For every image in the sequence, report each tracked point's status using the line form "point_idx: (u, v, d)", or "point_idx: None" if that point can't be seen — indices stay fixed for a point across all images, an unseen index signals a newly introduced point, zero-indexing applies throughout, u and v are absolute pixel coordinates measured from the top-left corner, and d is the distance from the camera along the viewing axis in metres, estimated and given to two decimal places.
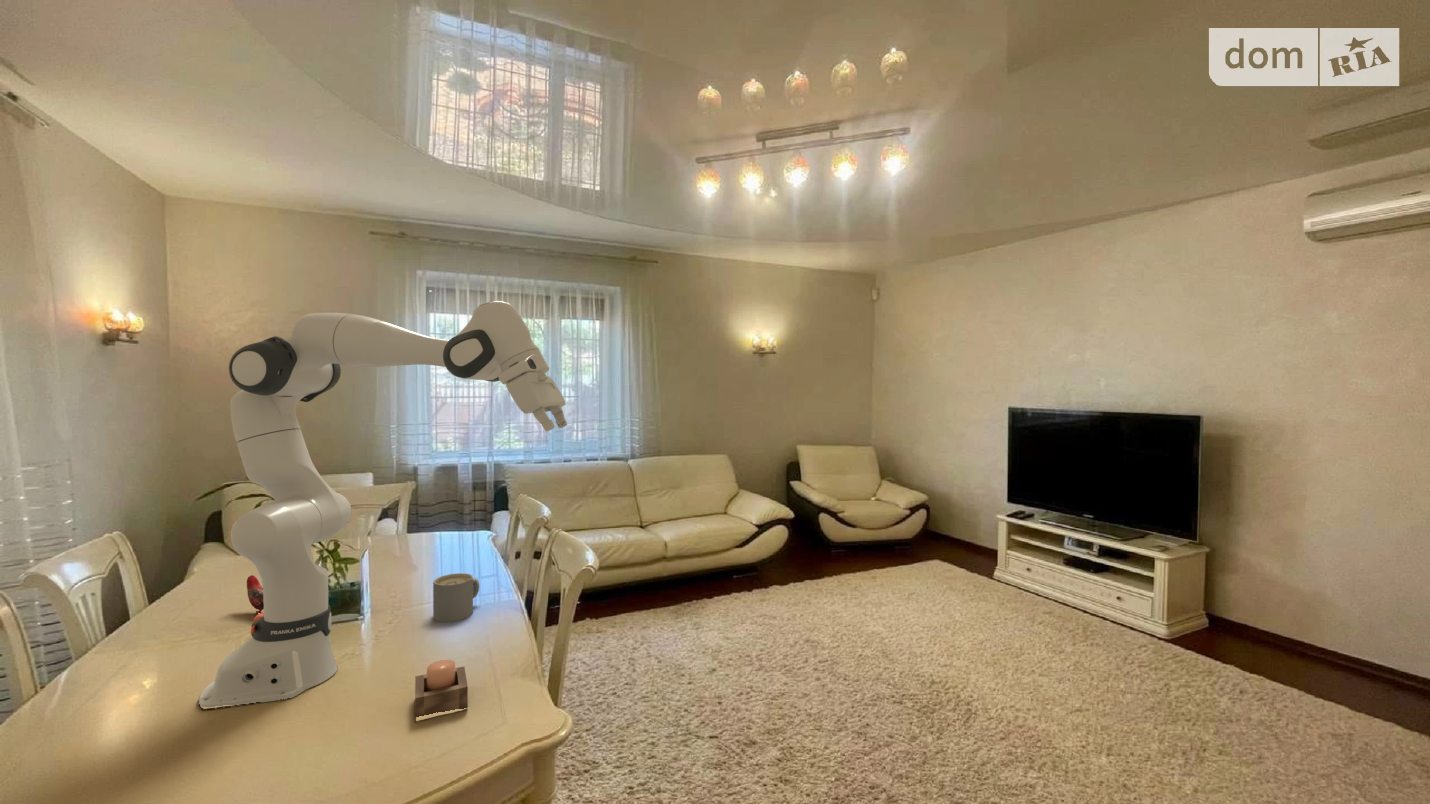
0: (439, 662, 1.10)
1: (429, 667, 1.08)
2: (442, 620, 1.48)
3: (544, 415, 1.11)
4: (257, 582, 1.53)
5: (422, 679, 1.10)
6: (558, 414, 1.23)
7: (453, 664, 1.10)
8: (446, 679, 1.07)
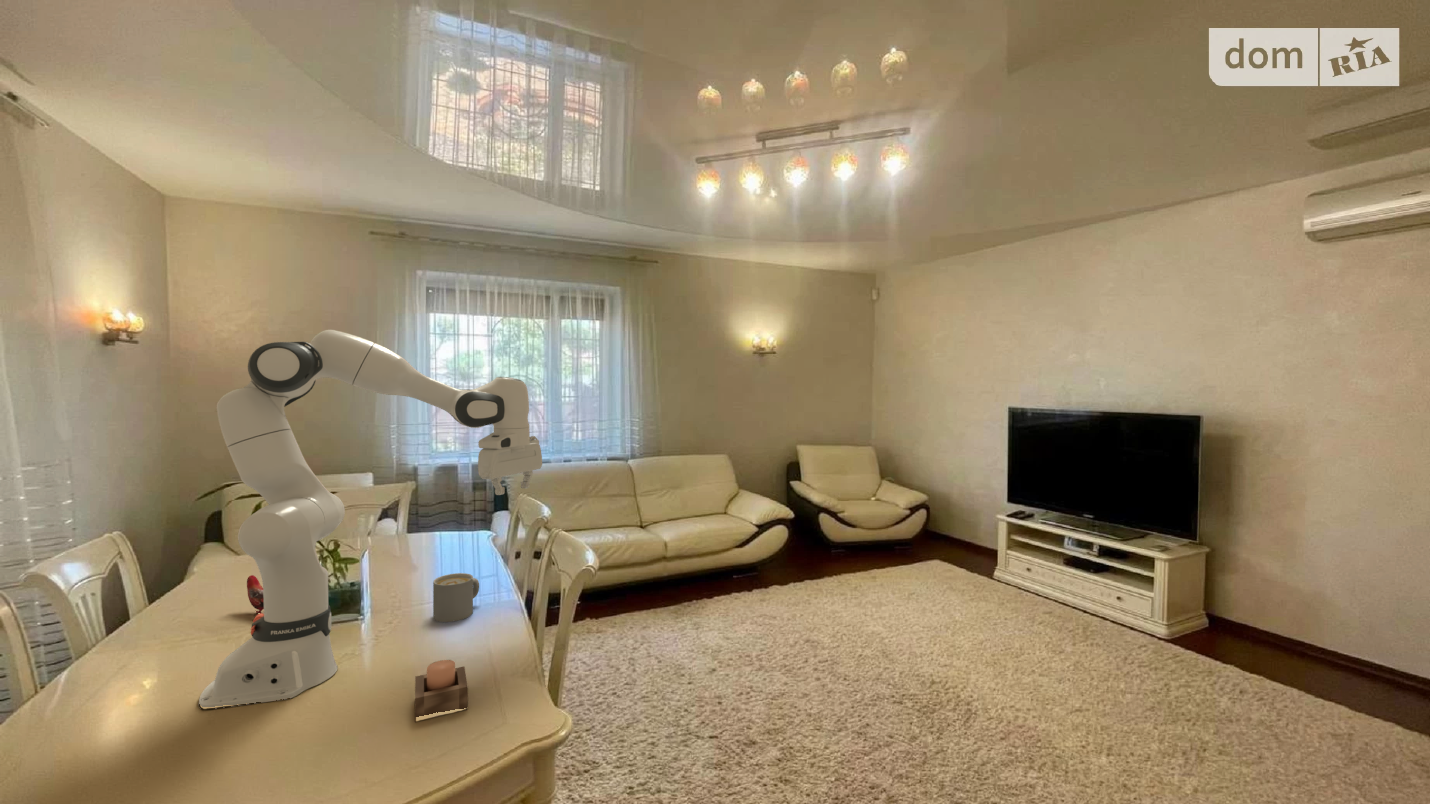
0: (439, 662, 1.10)
1: (429, 667, 1.08)
2: (442, 620, 1.48)
3: (497, 484, 1.39)
4: (257, 582, 1.53)
5: (422, 679, 1.10)
6: (527, 476, 1.50)
7: (453, 664, 1.10)
8: (446, 679, 1.07)
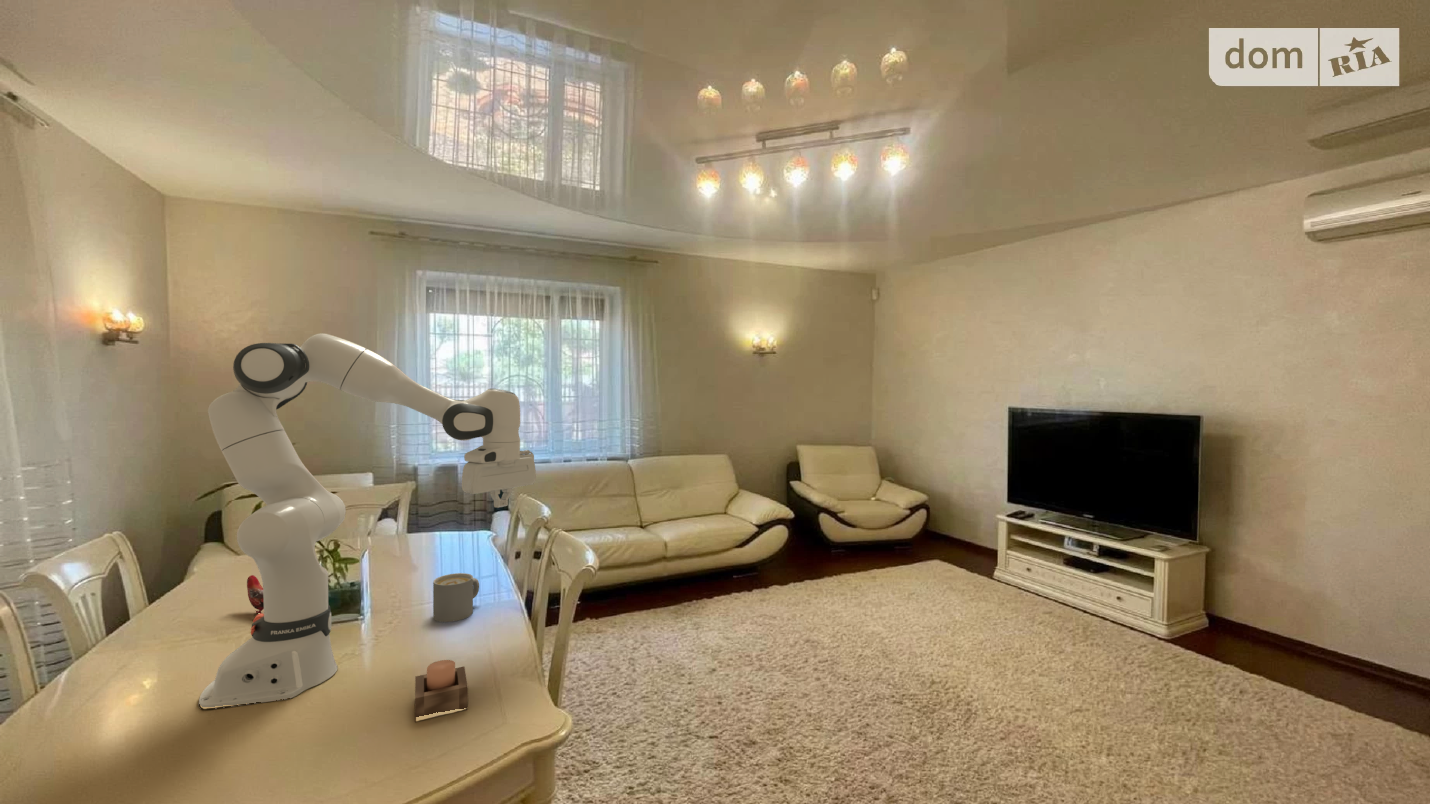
0: (439, 662, 1.10)
1: (429, 667, 1.08)
2: (442, 620, 1.48)
3: (495, 496, 1.38)
4: (257, 582, 1.53)
5: (422, 679, 1.10)
6: (506, 493, 1.42)
7: (453, 664, 1.10)
8: (446, 679, 1.07)
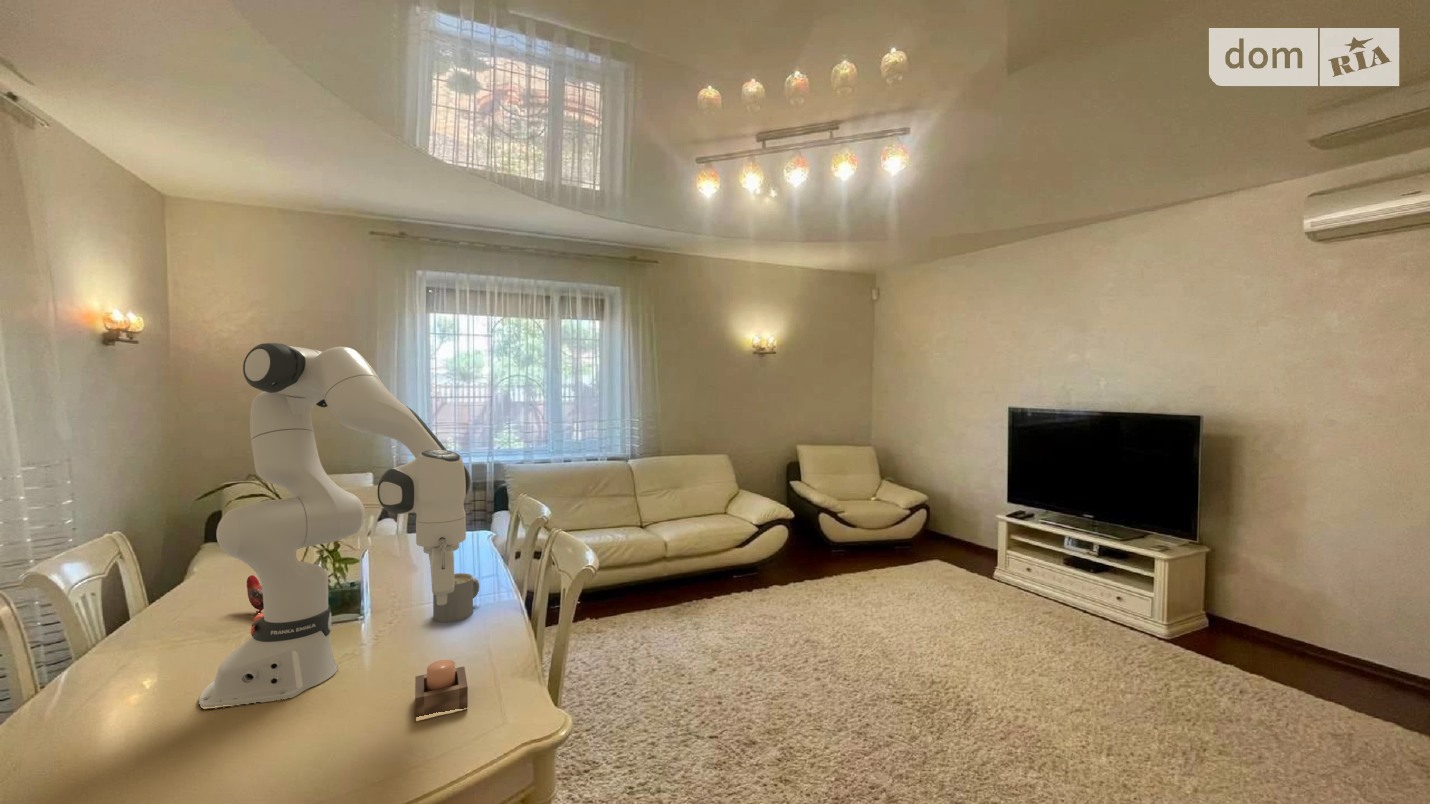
0: (439, 662, 1.10)
1: (429, 667, 1.08)
2: (442, 620, 1.48)
3: None
4: (257, 582, 1.53)
5: (422, 679, 1.10)
6: None
7: (453, 664, 1.10)
8: (446, 679, 1.07)
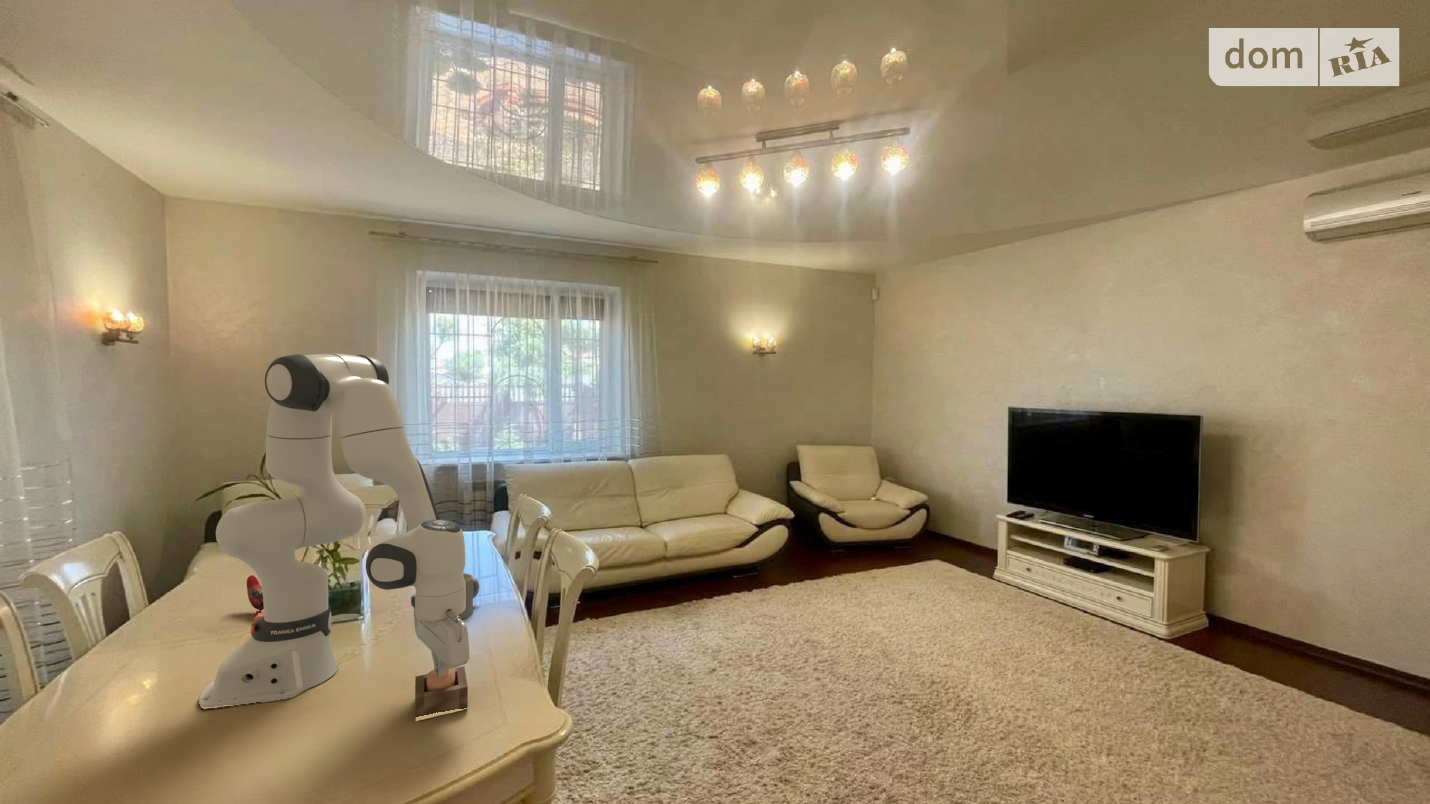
0: None
1: (429, 674, 1.08)
2: None
3: None
4: (257, 582, 1.53)
5: (422, 679, 1.10)
6: None
7: (453, 671, 1.10)
8: (446, 686, 1.07)
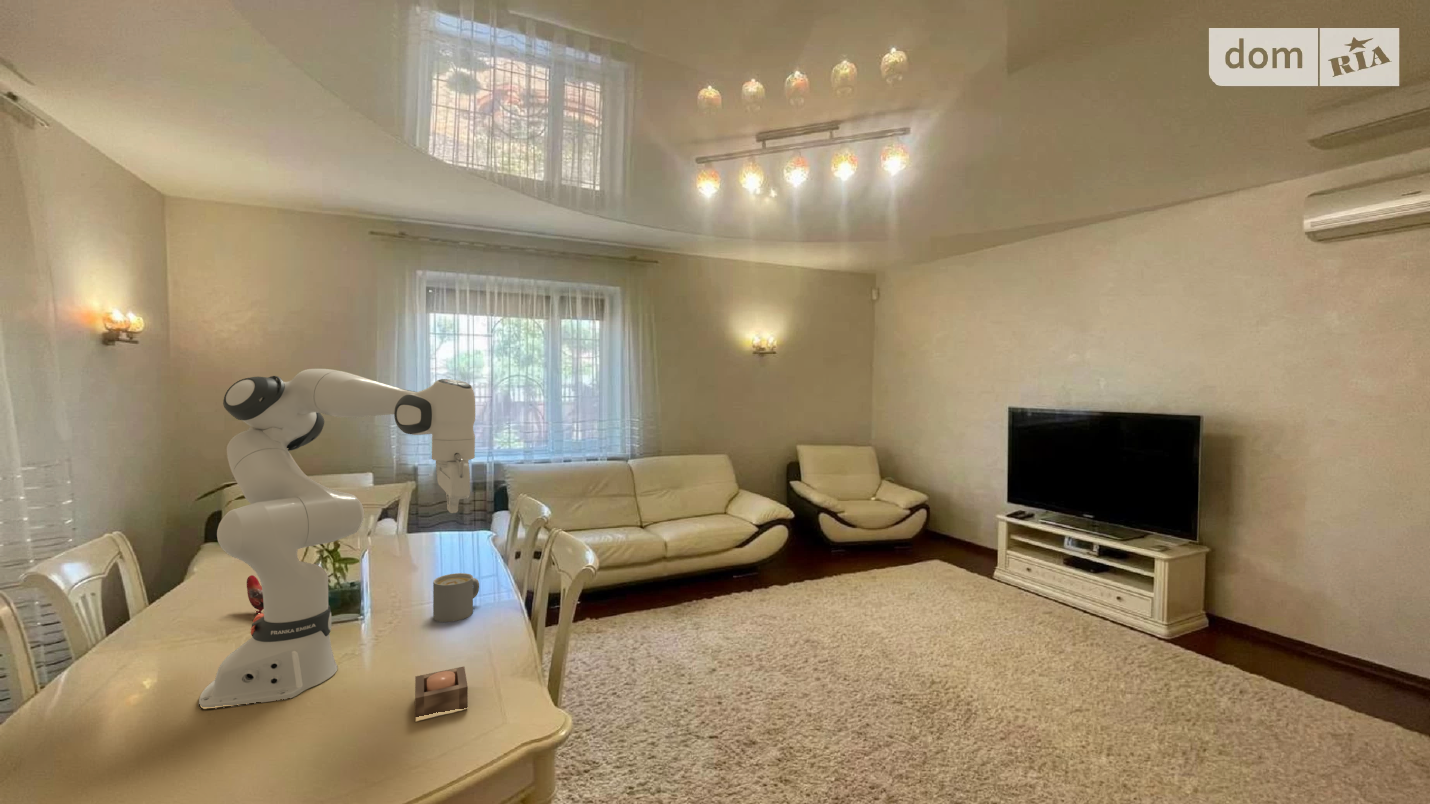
0: (439, 674, 1.10)
1: (429, 679, 1.08)
2: (442, 620, 1.48)
3: None
4: (257, 582, 1.53)
5: (422, 679, 1.10)
6: None
7: (453, 676, 1.10)
8: None
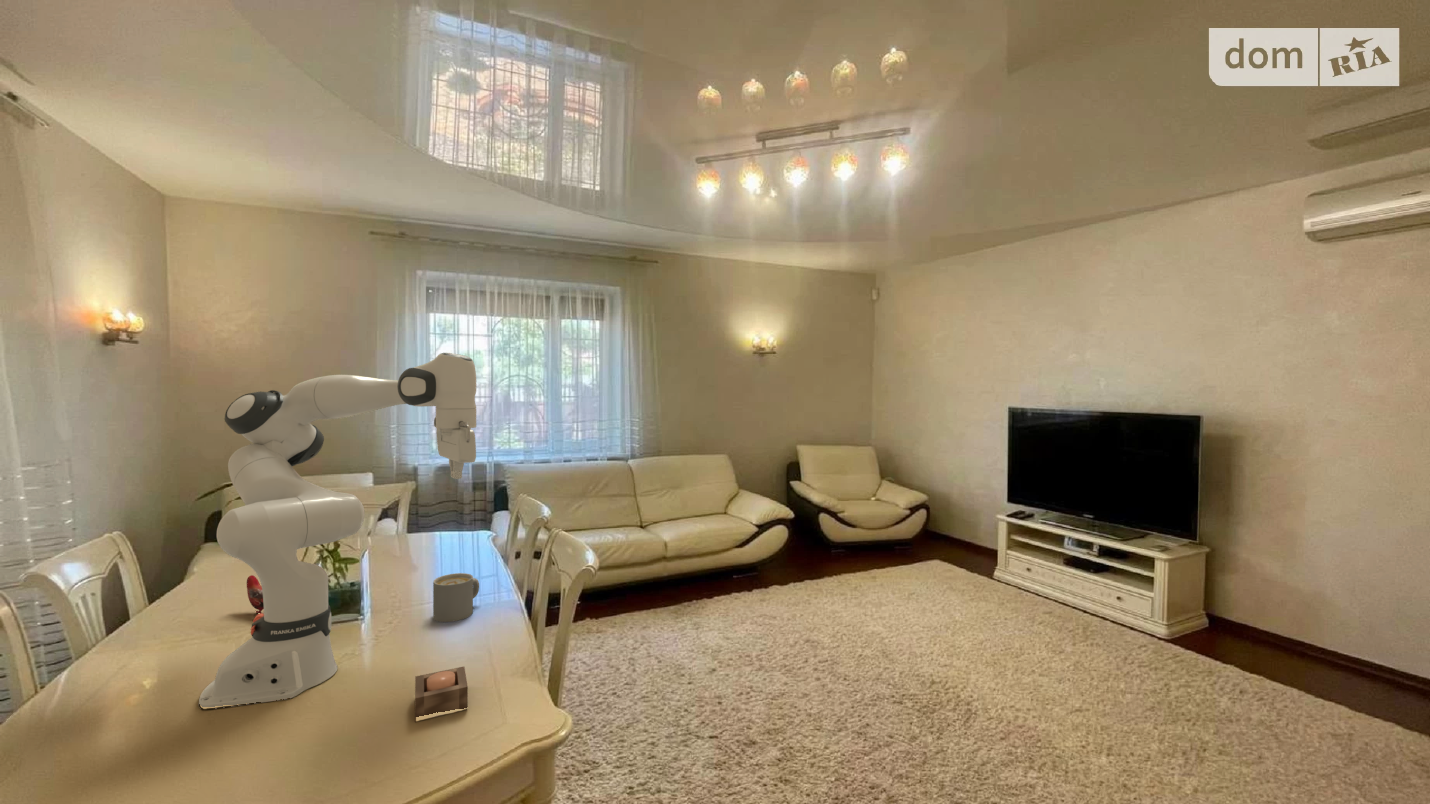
0: (439, 674, 1.10)
1: (429, 679, 1.08)
2: (442, 620, 1.48)
3: None
4: (257, 582, 1.53)
5: (422, 679, 1.10)
6: None
7: (453, 676, 1.10)
8: None
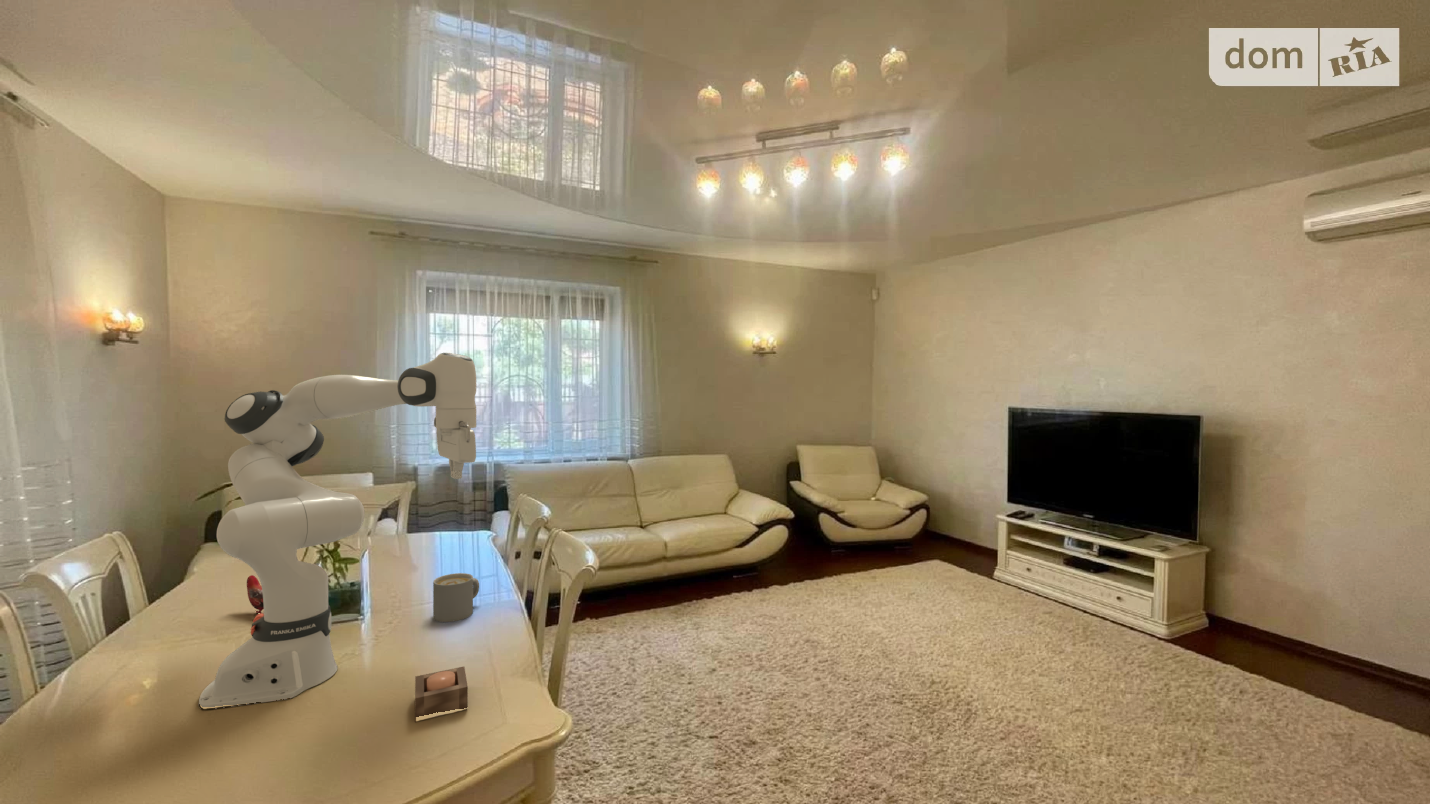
0: (439, 674, 1.10)
1: (429, 679, 1.08)
2: (442, 620, 1.48)
3: None
4: (257, 582, 1.53)
5: (422, 679, 1.10)
6: None
7: (453, 676, 1.10)
8: None
